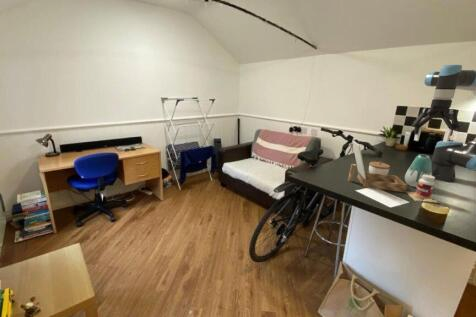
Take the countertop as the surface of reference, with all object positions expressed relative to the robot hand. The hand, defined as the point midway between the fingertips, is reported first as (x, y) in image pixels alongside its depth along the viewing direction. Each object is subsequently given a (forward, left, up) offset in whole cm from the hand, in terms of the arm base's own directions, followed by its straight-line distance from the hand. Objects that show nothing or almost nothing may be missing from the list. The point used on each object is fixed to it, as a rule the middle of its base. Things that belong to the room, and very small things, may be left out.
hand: (430, 141), depth 118 cm
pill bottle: (+4, +14, -26) cm, 30 cm away
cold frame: (+22, +2, -26) cm, 35 cm away
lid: (+32, +2, -13) cm, 35 cm away
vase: (-1, -3, -27) cm, 27 cm away
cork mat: (+4, +14, -26) cm, 30 cm away
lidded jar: (+16, -12, -27) cm, 33 cm away
